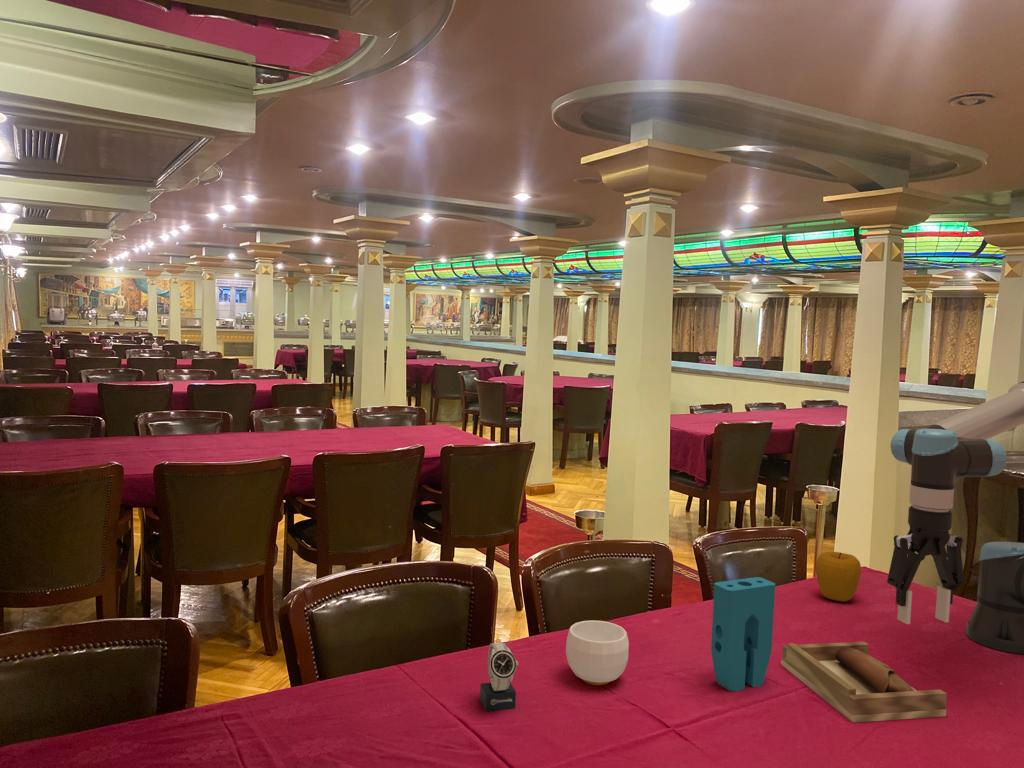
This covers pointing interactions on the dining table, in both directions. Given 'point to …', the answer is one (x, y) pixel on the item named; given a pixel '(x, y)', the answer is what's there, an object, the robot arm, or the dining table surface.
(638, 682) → the dining table surface
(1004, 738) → the dining table surface
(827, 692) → the rail board
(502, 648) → the watch
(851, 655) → the sunglasses case
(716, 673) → the block
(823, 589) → the apple
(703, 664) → the dining table surface
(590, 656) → the cup
